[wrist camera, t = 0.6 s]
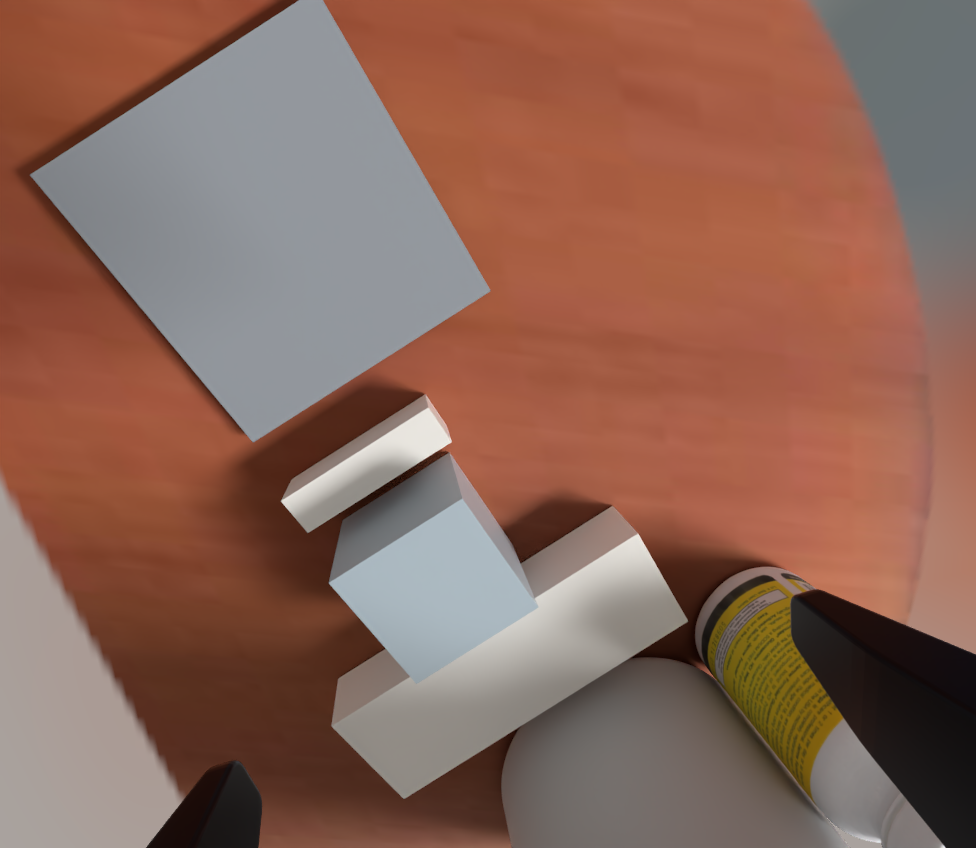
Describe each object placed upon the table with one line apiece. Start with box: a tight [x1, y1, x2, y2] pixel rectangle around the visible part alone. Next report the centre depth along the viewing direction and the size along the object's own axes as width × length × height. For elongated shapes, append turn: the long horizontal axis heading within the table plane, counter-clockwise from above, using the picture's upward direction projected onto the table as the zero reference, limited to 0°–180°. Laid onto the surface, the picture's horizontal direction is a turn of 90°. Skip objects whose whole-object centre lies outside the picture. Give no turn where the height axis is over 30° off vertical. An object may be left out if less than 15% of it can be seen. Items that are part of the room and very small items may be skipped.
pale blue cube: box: [329, 452, 538, 684], centre depth 19 cm, size 5×5×4 cm
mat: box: [30, 0, 490, 442], centre depth 17 cm, size 10×10×1 cm
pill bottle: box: [695, 567, 945, 848], centre depth 20 cm, size 6×6×11 cm
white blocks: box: [281, 394, 688, 799], centre depth 21 cm, size 14×14×2 cm
